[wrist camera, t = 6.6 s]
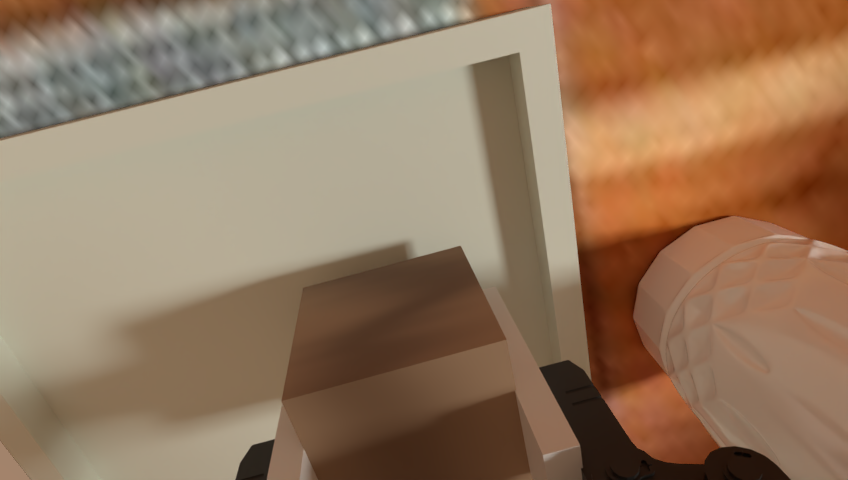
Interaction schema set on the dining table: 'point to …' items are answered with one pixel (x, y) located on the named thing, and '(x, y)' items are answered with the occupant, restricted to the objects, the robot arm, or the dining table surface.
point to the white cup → (755, 339)
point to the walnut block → (404, 377)
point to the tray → (267, 238)
